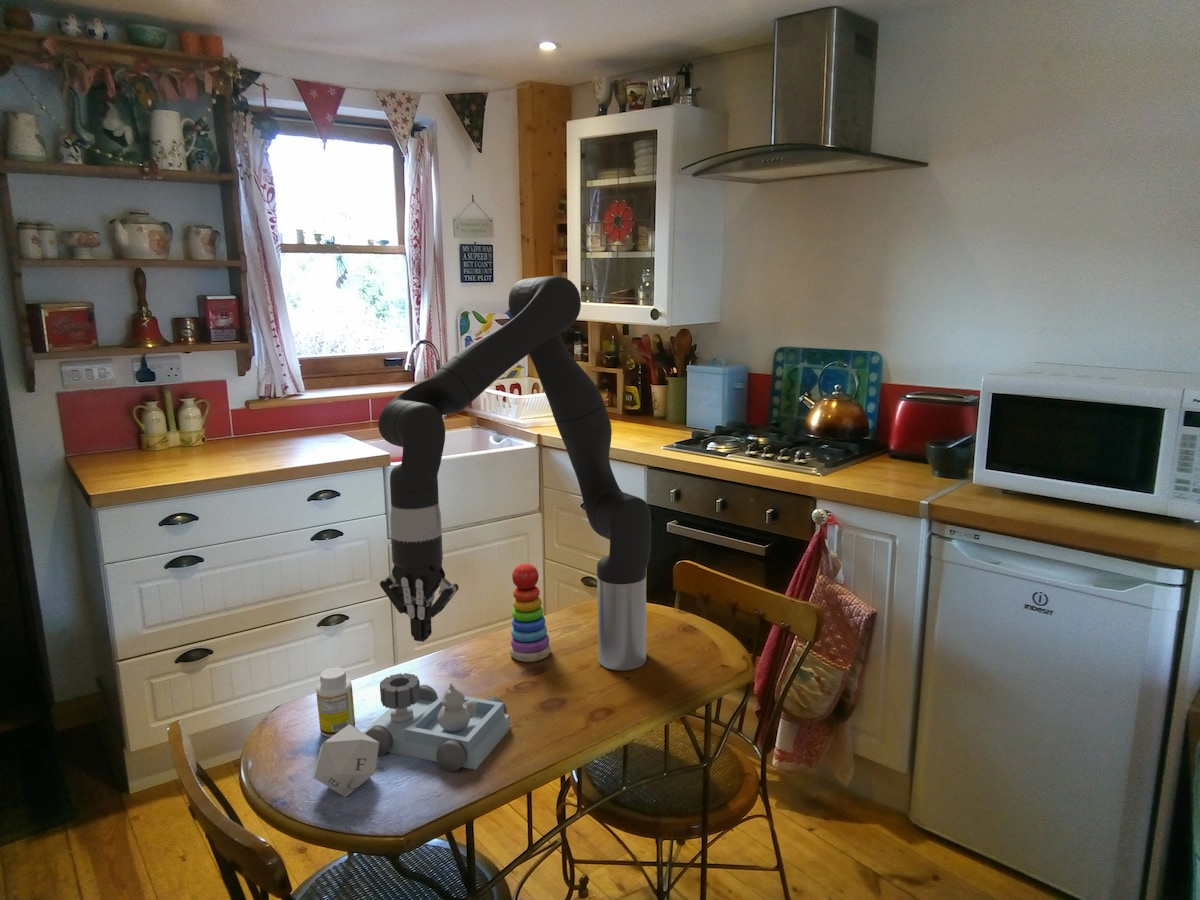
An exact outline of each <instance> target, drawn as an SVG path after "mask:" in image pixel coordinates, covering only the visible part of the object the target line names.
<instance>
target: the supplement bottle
mask: <svg viewBox="0 0 1200 900" xmlns="http://www.w3.org/2000/svg"><path fill="white" fill-rule="evenodd" d="M315 691H316V694H315V695H316V702H317V711H318V720H319V721H318V723H319V730H320V733H321V734H322V735H323V736H325V737H326V738H331V737H332V736H333V735H335V734H336V733H338V732H339V731H340V730H342V729H343V728H345V727H346V726H347V725H349V724H350V725H351V726H353V727H355V726H356V720H355V719H356V717H355V706H354V695H353V685H352V681H351V679H349V678H347V674H346V670H345V668H343V667H331V668H330V667H329V668H326V669H325V670H323V671H322V672H320V675H319V683H318V685H317V686H316V689H315ZM355 728H356V727H355Z"/></svg>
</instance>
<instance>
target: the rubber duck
mask: <svg viewBox="0 0 1200 900" xmlns="http://www.w3.org/2000/svg"><path fill="white" fill-rule="evenodd" d="M444 693H445V695H444V697H443V698H442V700H441V703H442V704H443V706H442V708H441V710H440V711H439V713H438V716H437V722H438V723H439V725H440V726H441V727H442V728H444V729H445V730H447V731H451V732H454V731H458V730H461V729H463V728H465V727H467V726H468V724H469V721H470V718H473V717H475V716H476V707H477V702H476V701H475V700H469V701H467V702H465V703H464V699H465V697H464V696H465V695H464V693H463V692H462V691H461V690H460V689H459V688H457V687H455V686H454V685H453V684H452V683H451V682H450V683H449V687H448V688H447V690H445V692H444Z"/></svg>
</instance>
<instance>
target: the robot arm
mask: <svg viewBox="0 0 1200 900" xmlns="http://www.w3.org/2000/svg"><path fill="white" fill-rule="evenodd" d="M581 302H582V300H581V296H580V292H579V290H578V287H577V286H576V285H575V283H573V282H572V281H571V280H570V279H568V278H566V277H563V276H557V275H546V276H537V277H535V276H534V277H529V278H524V279H521V280H518V281H517V282H515V284H513V286H512V287H511V290H510V292H509V295H508V309H509V314H510V317H511V320H509V321H508V322H506V323H504V324H503V325H502V326H501V327H498V328H497V329H496V330H494V331H491V332H490V333H489V334H486V335H484V336H483V337H481V338H479V339H477V340H475V341H474V342H472V343H470V344H469V345H467V346H465V347H464V348H462V349H461V350H459V351H458V352H457V353H456V354H455V355H454V356H452V357H451V358H450V359H448V360H447V362H445V363H444V364H443V365H441V367H440V368H439V369H437V370H435V372H434V373H433V374H431V375H430V376H429V377H428V378H426V379H424V380H422V381H420V382H418V383H416V384H414V385H413V386H411V387H410V388H408V389H406V390H404V391H403V392H401V393H400V394H398V395H396V396H394V398H393V399H391V400H390V401H389V402H388V403H387V404H386V405H385V406H384V408H383V409H382V410H381V412H380V415H379V418H378V422H377V423H378V426H377V427H378V431H379V434H380V436H381V437H382V438H383V439H384V441H386V443H388V444H390V445H393V446H397V447H400V448H402V455H401V456H402V457H401V463H400V464H398V465H396V466H394V467H393V468H392V469H391V471H390V475H389V487H390V488H389V489H390V505H391V506H390V514H389V515H390V517H389V521H390V523H389V525H390V528H389V529H390V543H391V558H392V559H391V560H392V563H393V567H392V569H391V575H389V576H386V577H385V578H384V579H382V580H381V581H380V583H379V586H380V587H381V589H382V590H383V592H384V593H385V595H386V596H387V598H388V599H389V600H390V602H391V603H392V605H393V606H394V608H395V609H396V610H397V612H398V613H399V614H405V615H407V616H408V618H409V624H410V634H411V636H412V637H413V641H417V642H421V643H423V642H425V641H427V640H428V639H429V637H430V636H431V635H432V633H433V632H432V630H433V629H432V618H434V617H435V616H437V615H438V614H439V613H441V612H442V611H443V610H444V609H445V608H446V606H447V604H448V603H449V602H450V601H451V600H452V598H453V597H454V596H455V595H456V593H457V592H458V591H459V587H460V586H459V585H458V584H457V583H455V582H454V583H452V582H450V581H449V580H447V579H446V573H445V571H444V568H443V558H444V556H443V553H444V552H443V532H442V529H443V528H442V514H441V509H440V502H439V500H440V498H439V478H438V475H439V470H440V467H441V463H442V457H443V453H444V448H445V441H446V425H445V421H444V419H443V416H445V415H450V414H457V413H460V412H462V411H463V410H465V408H467V407H468V406H470V404H471V403H472V402H473V401H475V400H476V399H477V398H478V397H479V396H480V395H482V393H483V392H485V390H487V389H488V387H490V386H491V385H492V384H493V383H494V382H495V381H497V379H499V378H500V377H501V376H503V375H504V374H505V373H506V372H507V371H509V369H511V368H512V367H514V366H515V365H516V364H517V363H519V362H520V361H521V360H523V359H524V358H525V357H527V356H528V355H529V357H530V360H531V361H532V363H533V366H534V369H535V371H536V373H537V376H538V378H539V381H540V385H541V386H542V388H543V391H544V394H545V396H546V399H547V401H548V404H549V408H550V410H551V413H552V416H553V419H554V422H555V424H556V427H557V430H558V432H559V435H560V437H561V440H562V442H563V445H564V447H565V450H566V453H567V456H568V458H569V460H570V463H571V465H572V469H573V470H574V473H575V476H576V479H577V482H578V485H579V489H580V493H581V494H580V495H581V498H582V502H583V505H584V510H585V513H586V516H587V520H588V523H589V526H590V527H591V528H592V530H593V531H594V532H595V533H596V534H598V535H599V536H600V537H603V538H605V539H607V540H609V553H608V554H609V555H606V556H603V557H601V558H600V559H599V560H598V561H597V564H596V584H597V585H596V590H597V596H596V597H597V644H598V645H597V649H598V650H597V651H598V653H597V655H598V663H599V665H601V666H602V667H604V668H606V669H609V670H613V671H622V672H623V671H625V672H626V671H632V670H636V669H638V668H639V669H640V668H641V667H642V666H644V665H645V663H646V662H647V578H646V577H647V567H648V565H649V562H650V557H651V550H652V549H651V547H652V545H651V544H652V513H651V508H650V507H649V504H648V502H646V501H645V500H644V499H643V498H641V497H639V496H636V495H633V494H630V493H627V492H624V491H622V490H621V488H620V486H619V485H618V482H617V480H616V478H615V475H614V472H613V470H612V466H611V462H610V452H611V451H610V450H611V442H612V435H613V434H612V431H613V429H612V423H611V419H610V416H609V413H608V410H607V408H606V403H605V402H604V398H603V396H602V394H601V392H600V389H599V388H598V387H597V385H596V384H595V382H594V381H593V380H592V379H591V377H590V376H589V375H588V374H587V373H586V371H585V370H584V369H583V368H582V367H581V366H580V364H578V362H577V361H576V360H575V359H574V357H573V355H571V353H570V352H569V350H568V348H567V346H566V345H565V342H564V340H563V336H562V335H561V333H564V331H566V330H567V329H569V328H571V326H572V325H573V324H575V322H576V321H577V319H578V317H579V314H580V312H581V308H582V307H581V306H582V303H581ZM438 589H439V590H438ZM437 590H438V595H439V596H438V597H437V599H436V601H434V600H435V593H436V591H437Z"/></svg>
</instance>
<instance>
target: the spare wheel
mask: <svg viewBox="0 0 1200 900" xmlns="http://www.w3.org/2000/svg"><path fill="white" fill-rule="evenodd" d="M420 686H421V685H420V679H419V677H418V676H417V675H416V674H413V673H407V672H404V673H402V672H400V673H397V674H391V675H389V676H386V677H385V678H384V679H382V680H381V681H380V683H379V693H380V695H379V696H380V702H381V705H382V707H385V708H387V709H390V708H392V709H396V708H397V707H398V708H399V709H401V708H405V707H410V706H411V705H414V704H415V703H416V702H417V701H419V700H420V698H421V697H420Z"/></svg>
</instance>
